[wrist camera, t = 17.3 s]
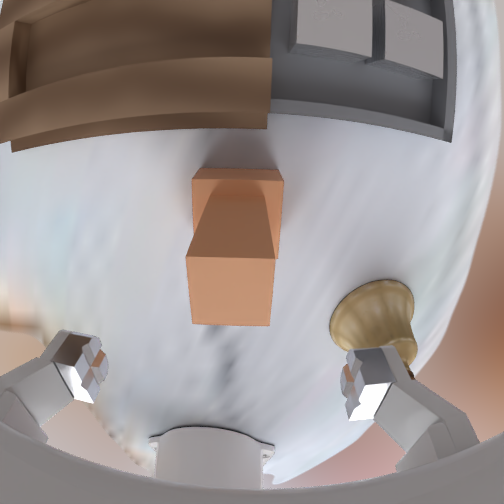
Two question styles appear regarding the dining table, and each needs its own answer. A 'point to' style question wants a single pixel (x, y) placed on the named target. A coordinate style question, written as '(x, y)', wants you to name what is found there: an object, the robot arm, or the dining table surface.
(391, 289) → the hand bell
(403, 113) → the tray
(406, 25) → the grey square block
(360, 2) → the light grey block
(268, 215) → the stepped wedge block
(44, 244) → the dining table surface
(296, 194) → the dining table surface
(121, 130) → the slot board
